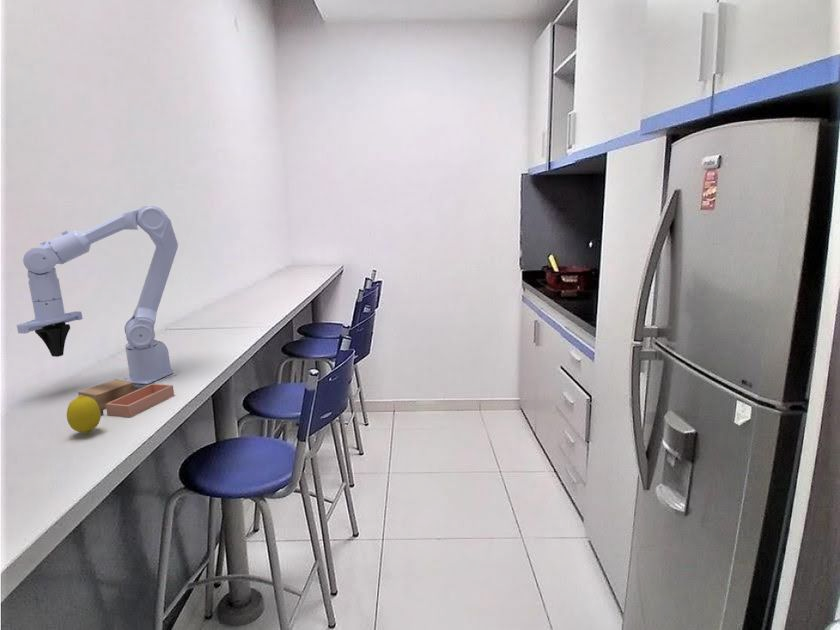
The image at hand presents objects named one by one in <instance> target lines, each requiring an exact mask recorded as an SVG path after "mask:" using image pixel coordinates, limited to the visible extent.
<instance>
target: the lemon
mask: <svg viewBox="0 0 840 630" xmlns="http://www.w3.org/2000/svg"><path fill="white" fill-rule="evenodd" d="M66 409H67V410H66V420H67V422H68V423H67V424H68V425H69V426H70V427H71V429H72V430H74V431H75V432H78V433H83V434H85V435H88V434H90V433H91V432H92V430H94V429H96V428H97V427H98V425H99V423H100V422H101V412H100V408H99V406H98V404H97V402H96V401H95V400H94V399H92V398H90V397H87V396H83V395H80V396H79V395H78V396H77V397H75V399H72V401H71V402H70V403H69V404H68V407H67V408H66Z"/></svg>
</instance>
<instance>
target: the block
mask: <svg viewBox="0 0 840 630" xmlns="http://www.w3.org/2000/svg"><path fill="white" fill-rule="evenodd" d="M124 380H125V379H117V378H115V379H113V380H109V381H107V382H104V383H101V384H98V385H94V386H91V387H89V388H86V389H83V390H80V391H77V393H78V396H80V395H83V396H87V397H90V398H92V399H94V400H95V401H96V402H97V404H98V406H99V408H100V409H103V411H105V410H106V404H107V403H109V402H111V401H114V400H116V399H118V398H120V397H123V396H125V395H127V394H129V393H132V392H134V391H135V390H134V385H135V383H133V382H129V381H124Z"/></svg>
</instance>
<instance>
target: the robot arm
mask: <svg viewBox="0 0 840 630" xmlns="http://www.w3.org/2000/svg"><path fill="white" fill-rule="evenodd" d="M138 227H139V228H140V229H142V230H143V231H144V232H145V233H146V234H148V236H149V237H150V239H151V240H152V242H153V244H154V246H155V250H154V253H153V255H152V258H151V262H150V264H149V268H148V270H147V275H146V277H145V280H144V282H143V287H142V289H141V292H140V296H139V297H138V302H137V305H136V307H135V309H134V310H133V314H132V316H131V318H130V319H128V320H127V321H126V323H125V325H124V334H125V338H126V341H127V343H126V344H125V345H124V346H125V352H126V360H127V366H128V373H129V377H127V378H125V379H123V380H124V381H129V382H133V383H134V384H135V385H150V384H153V383H154V382H156V381H158V380H161V379H163V378H166V377H168V376H169V375H172V374H174V370H172V369H171V362H170V353H169V352H170V351H169V348H168V346H167V344H165V343H164V342H163V341H160V340H157V339H156V333H155V324H156V319H157V315H158V314H157V313H158V309H159V306H160V303H161V300H162V298H163V294H164V291H165V287H166V285H167V281H168V279H169V275H170V272H171V269H172V266H173V264H174V263H173V262H174V260H175V257H176V254H177V251H178V248H179V243H178V240H177V236H176V234H175V232H174V227H173V224H172V220H171V219H170V218H169V216H168V215H167V214H166V213H165V211H164V210H163V209H162V208H160V207H159V206H156V205H144V206H142V207H140V208H139V209H137V208H136V209H132V210H128V211H126V212H122V213H119V214H117V215H115V216H113V217H111V218H110V219H107V220H106V221H103V222H101V223H99V224H97V225H96V226H93V227H91V228H90V229H87V230H86V231H79V230H76V229H73V230H70V231H69V230H67V229H66V230H63V231H62V232H61V235H59V236H57V237H55V238H52V239H51V240H48V241H45V240H43V241H41V242H39V244H40V246H36V247H32V248H30V249H29V250H27V251H26V252H25V253H24V255H23V258H22V261H23V265H24V267H25V269H27V277H28V278H27V279H28V286H29V291H30V296H31V302H32V308H33V313H34V319H32V320H29V321H25V322H23V323H19V324H16V328H17V332H18V334H28V333H30V332H35V334H36V335H37V336H38V337H39V338H40V339H41V340H42V341H43V342H44V344H45V346H46V347H47V349H48V351H49V353H50V356H51V357H57V358H58V357H62V356H64V351H65V346H66V345H65V344H66V340H67V336H68V333H69V332H70V330H71V325H70V324H66V323H70V322H74V321H81V320H83V314H82V311H71V312H65V307H64V302H63V296H62V290H61V284H60V279H59V277H58V273H57V270H56V265H65V264H66V263H68V262H70V261H72V260H74V259H76V258H78V257H80V256H83V255H85V254H87V253H89V252H90V249H91V245H93V244H94V243H96V242H98V241H100V240H103V239H105V238H107V237H110V236H113V235H115V234H117V233H119V232H122V231H124V230H133V231H135V230H137V231H138V230H139V228H138Z"/></svg>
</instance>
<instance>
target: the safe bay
mask: <svg viewBox="0 0 840 630" xmlns="http://www.w3.org/2000/svg"><path fill="white" fill-rule="evenodd" d="M145 386H146V384H134V390H135V391H136V390H138V389H141V388H143V387H145ZM100 412H101V416H104V410H103V409H100Z"/></svg>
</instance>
